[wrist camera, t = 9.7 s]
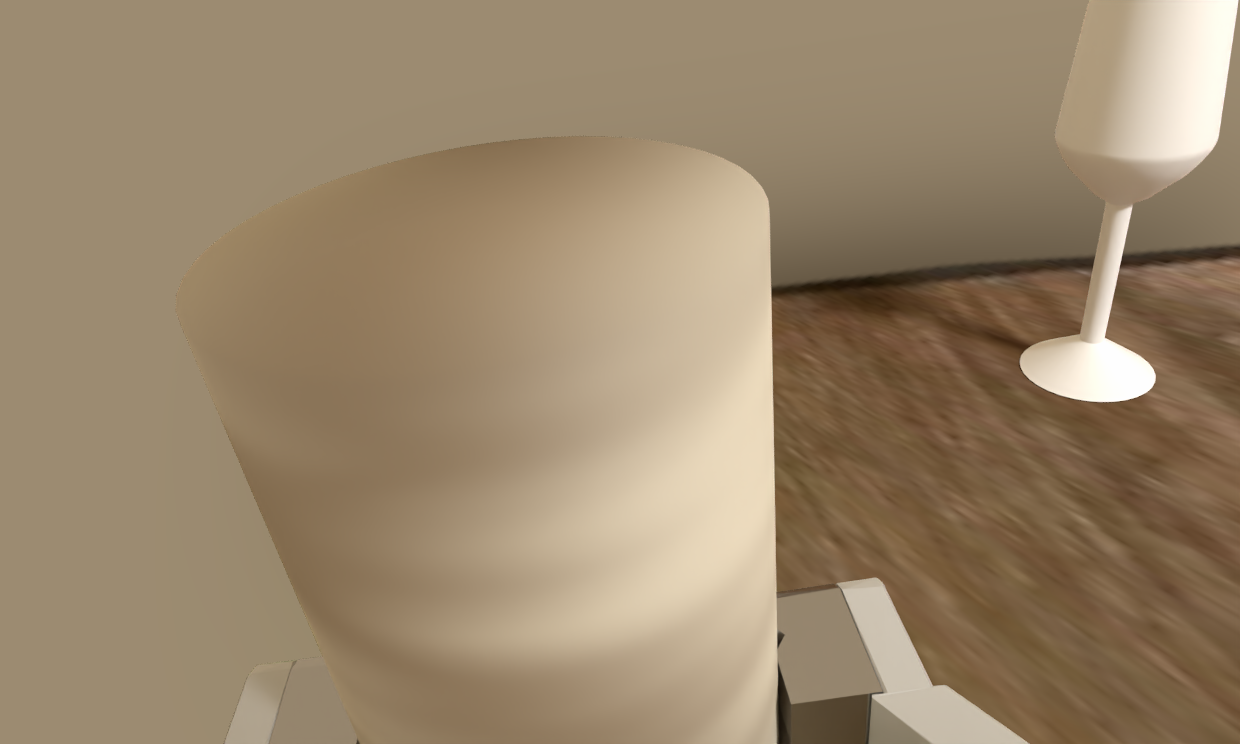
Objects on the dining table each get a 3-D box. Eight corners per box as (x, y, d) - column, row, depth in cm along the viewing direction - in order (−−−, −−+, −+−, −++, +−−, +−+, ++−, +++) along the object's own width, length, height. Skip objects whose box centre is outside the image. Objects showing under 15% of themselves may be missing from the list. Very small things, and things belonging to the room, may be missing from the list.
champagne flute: (1164, 352, 48) (1293, -149, 35) (1146, 414, 43) (1286, -133, 31) (1034, 328, 51) (1110, -134, 39) (1005, 384, 47) (1079, -119, 34)
